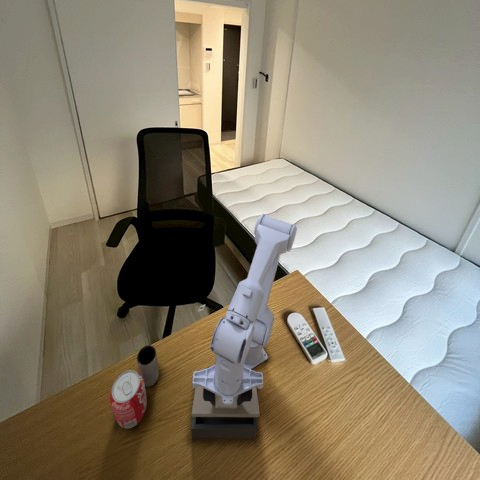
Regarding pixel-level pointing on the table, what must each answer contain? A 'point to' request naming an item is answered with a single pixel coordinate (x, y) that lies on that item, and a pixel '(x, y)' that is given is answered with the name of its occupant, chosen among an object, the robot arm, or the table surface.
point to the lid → (224, 406)
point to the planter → (148, 365)
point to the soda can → (128, 399)
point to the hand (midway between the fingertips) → (226, 399)
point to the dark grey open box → (224, 427)
